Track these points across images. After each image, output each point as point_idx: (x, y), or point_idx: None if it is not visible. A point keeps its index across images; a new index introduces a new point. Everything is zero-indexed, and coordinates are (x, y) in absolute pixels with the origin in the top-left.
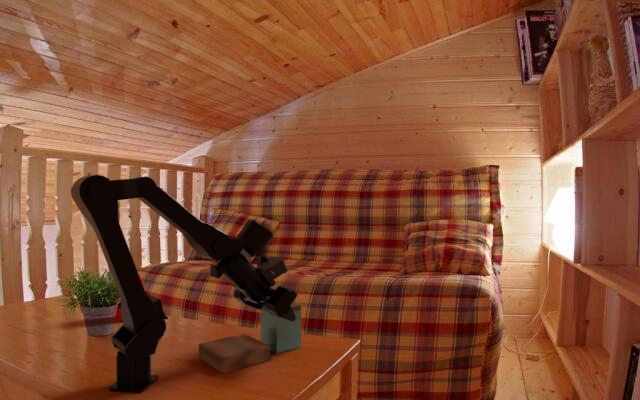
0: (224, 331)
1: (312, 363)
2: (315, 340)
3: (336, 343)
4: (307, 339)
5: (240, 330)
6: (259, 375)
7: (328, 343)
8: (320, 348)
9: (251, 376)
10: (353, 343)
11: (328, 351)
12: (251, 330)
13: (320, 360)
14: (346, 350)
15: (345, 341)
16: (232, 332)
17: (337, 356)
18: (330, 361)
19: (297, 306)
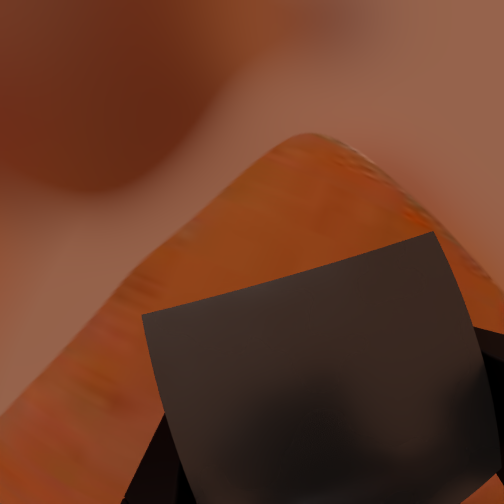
0: (19, 498)
1: (477, 323)
2: (266, 232)
3: (327, 181)
4: (239, 256)
5: (19, 452)
6: (491, 478)
7: (319, 203)
8: (365, 250)
9: (486, 496)
10: (340, 142)
11: (399, 237)
12: (28, 420)
13: (462, 292)
14: (398, 186)
15: (315, 151)
16: (33, 486)
17: (441, 231)
18: (471, 267)
19: (449, 267)
